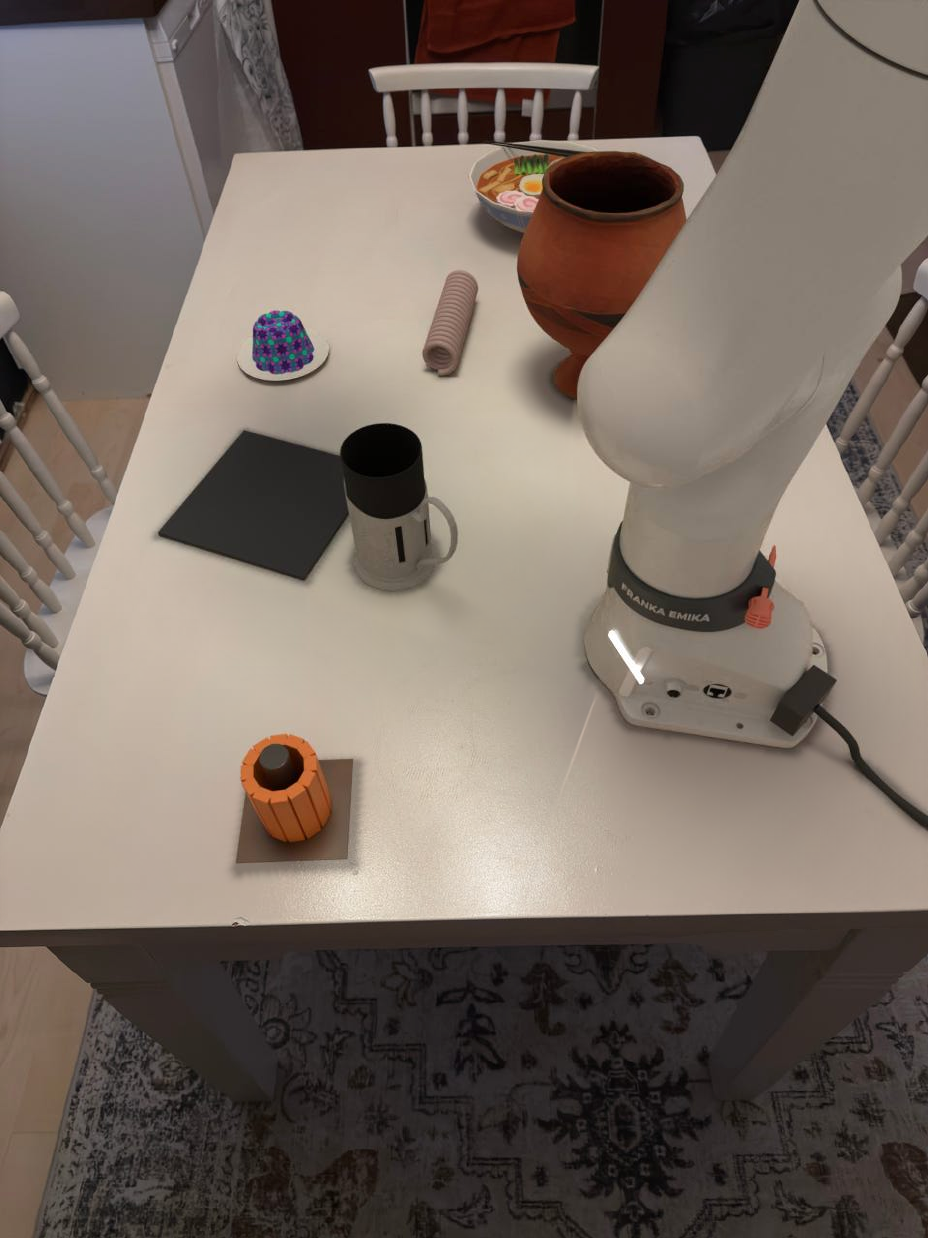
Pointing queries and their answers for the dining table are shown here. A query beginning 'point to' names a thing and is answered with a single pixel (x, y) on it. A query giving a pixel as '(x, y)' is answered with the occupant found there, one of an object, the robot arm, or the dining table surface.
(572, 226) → the goblet
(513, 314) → the dining table surface
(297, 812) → the orange grooved hollow cylinder
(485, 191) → the ramen bowl
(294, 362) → the pudding
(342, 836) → the stake stand
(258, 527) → the mat
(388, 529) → the glass holder
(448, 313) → the coil
